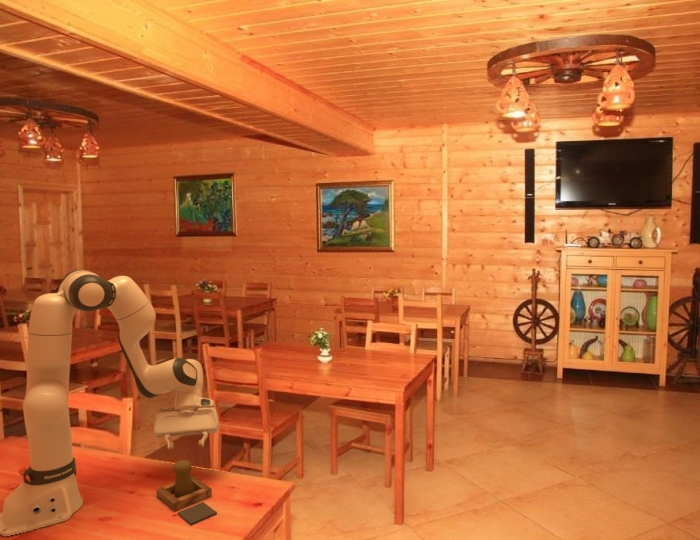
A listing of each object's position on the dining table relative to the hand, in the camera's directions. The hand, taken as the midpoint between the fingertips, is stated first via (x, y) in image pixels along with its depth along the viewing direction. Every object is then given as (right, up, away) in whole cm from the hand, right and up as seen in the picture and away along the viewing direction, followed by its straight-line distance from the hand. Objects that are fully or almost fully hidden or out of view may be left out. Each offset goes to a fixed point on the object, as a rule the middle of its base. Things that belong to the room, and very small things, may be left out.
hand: (185, 447), depth 173 cm
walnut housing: (+1, -13, -6) cm, 14 cm away
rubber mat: (+8, -14, -16) cm, 23 cm away
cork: (+1, -13, -6) cm, 15 cm away
